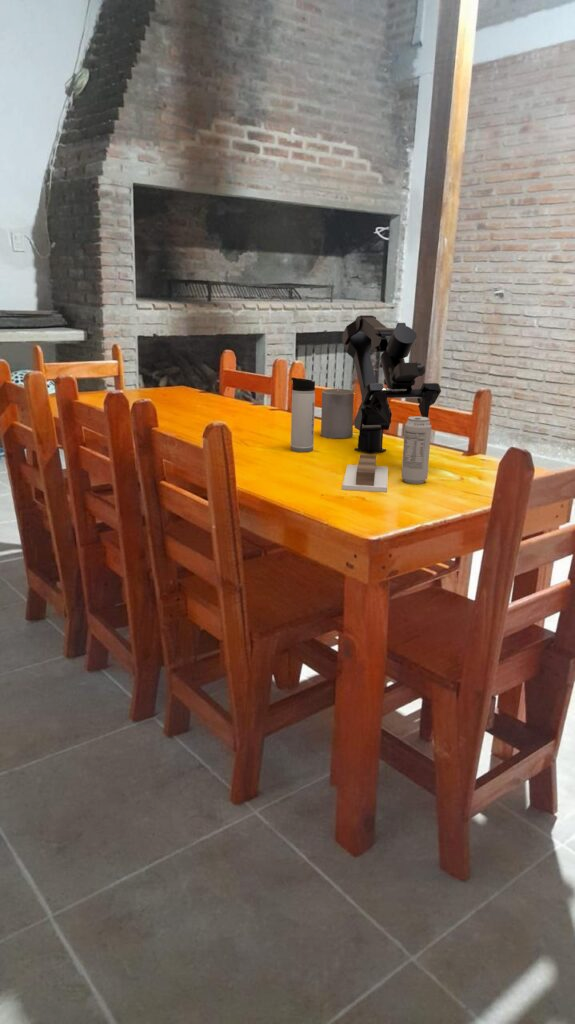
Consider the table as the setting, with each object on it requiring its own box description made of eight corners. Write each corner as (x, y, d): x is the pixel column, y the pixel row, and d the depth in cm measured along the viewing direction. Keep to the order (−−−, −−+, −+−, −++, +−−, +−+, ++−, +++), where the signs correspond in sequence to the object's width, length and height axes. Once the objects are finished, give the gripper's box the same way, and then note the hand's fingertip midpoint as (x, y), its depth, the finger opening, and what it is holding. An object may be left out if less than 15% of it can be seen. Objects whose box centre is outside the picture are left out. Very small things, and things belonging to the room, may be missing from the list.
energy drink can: (431, 481, 170) (436, 418, 166) (418, 486, 166) (423, 421, 161) (409, 476, 174) (414, 415, 169) (396, 481, 170) (400, 418, 165)
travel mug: (286, 448, 202) (287, 376, 196) (307, 447, 204) (309, 375, 198) (295, 453, 196) (296, 379, 190) (316, 451, 199) (319, 378, 193)
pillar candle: (334, 431, 227) (336, 383, 222) (359, 436, 220) (360, 387, 216) (314, 436, 220) (315, 386, 216) (338, 440, 214) (339, 390, 209)
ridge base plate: (347, 468, 180) (347, 464, 180) (387, 470, 179) (387, 466, 179) (342, 489, 161) (342, 485, 161) (386, 492, 160) (387, 487, 160)
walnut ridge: (359, 466, 179) (360, 454, 178) (375, 467, 178) (376, 455, 177) (355, 484, 162) (356, 471, 161) (373, 485, 161) (374, 472, 160)
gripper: (367, 349, 170) (380, 402, 163) (441, 349, 174) (456, 401, 167) (356, 378, 180) (367, 430, 173) (426, 378, 183) (440, 429, 176)
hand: (408, 422), depth 172 cm, fingers open, 9 cm apart
